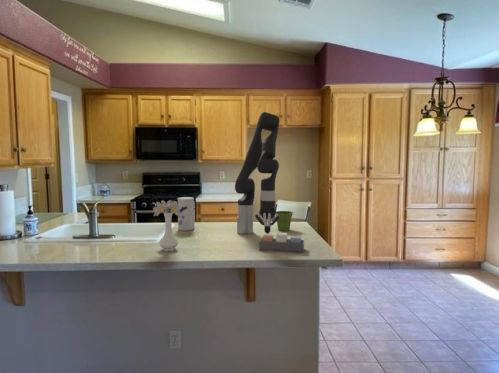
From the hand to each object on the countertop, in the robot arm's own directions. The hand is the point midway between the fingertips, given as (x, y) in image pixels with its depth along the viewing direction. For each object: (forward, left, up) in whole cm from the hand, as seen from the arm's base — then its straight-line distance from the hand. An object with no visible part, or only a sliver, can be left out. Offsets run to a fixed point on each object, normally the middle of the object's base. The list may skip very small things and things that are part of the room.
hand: (267, 233), depth 182 cm
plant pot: (+3, +46, -8) cm, 47 cm away
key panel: (+7, 0, -8) cm, 11 cm away
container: (-58, +36, -8) cm, 69 cm away
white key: (+7, 0, -4) cm, 9 cm away
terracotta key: (0, 0, -6) cm, 6 cm away
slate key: (+14, 0, -6) cm, 15 cm away
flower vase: (-49, -11, -8) cm, 51 cm away
